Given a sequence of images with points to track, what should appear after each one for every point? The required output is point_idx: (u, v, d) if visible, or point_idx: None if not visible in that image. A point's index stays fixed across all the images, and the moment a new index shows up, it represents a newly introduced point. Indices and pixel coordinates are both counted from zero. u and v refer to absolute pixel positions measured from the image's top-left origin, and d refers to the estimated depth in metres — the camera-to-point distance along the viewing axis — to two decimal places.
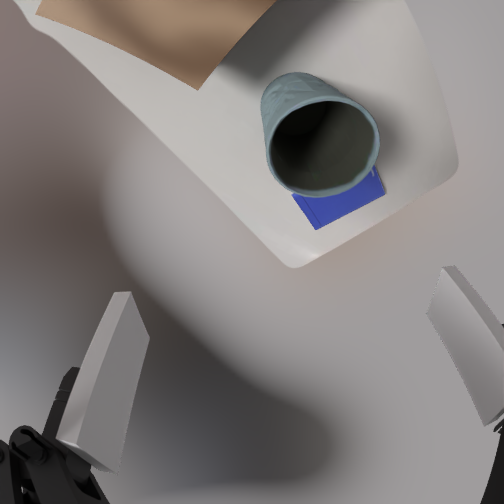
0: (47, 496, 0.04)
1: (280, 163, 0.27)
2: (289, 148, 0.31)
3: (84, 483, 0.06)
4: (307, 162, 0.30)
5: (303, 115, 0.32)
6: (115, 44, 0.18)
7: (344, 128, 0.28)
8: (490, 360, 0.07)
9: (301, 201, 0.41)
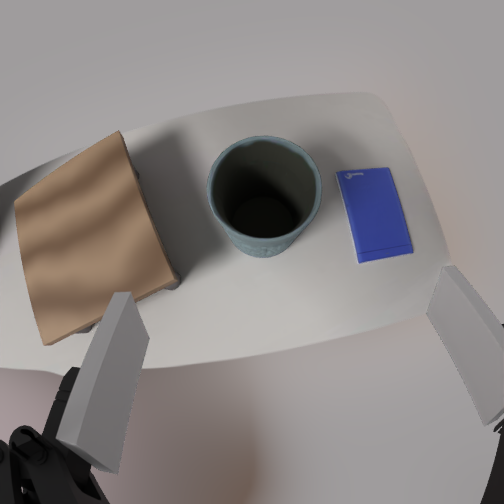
0: (47, 496, 0.04)
1: None
2: None
3: (84, 483, 0.06)
4: None
5: (274, 221, 0.36)
6: (102, 313, 0.27)
7: (281, 178, 0.32)
8: (490, 360, 0.07)
9: (370, 255, 0.35)
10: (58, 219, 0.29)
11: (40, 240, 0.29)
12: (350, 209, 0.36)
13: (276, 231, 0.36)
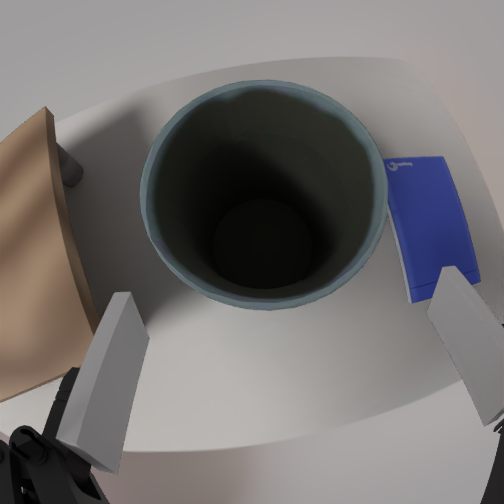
0: (47, 496, 0.04)
1: (289, 287, 0.13)
2: (310, 273, 0.18)
3: (84, 483, 0.06)
4: (334, 244, 0.16)
5: (281, 238, 0.22)
6: (13, 392, 0.13)
7: (294, 166, 0.18)
8: (490, 360, 0.07)
9: (428, 290, 0.21)
10: None
11: None
12: (399, 218, 0.22)
13: (285, 255, 0.22)
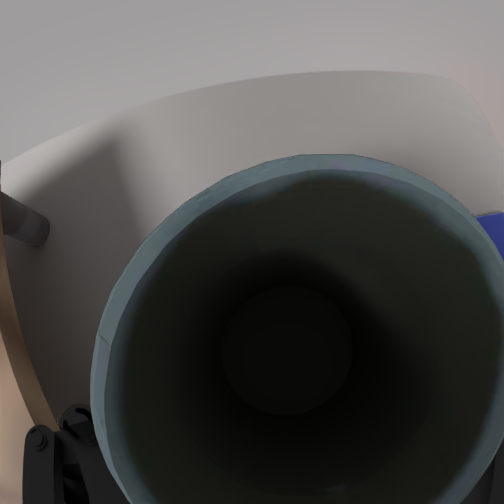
0: (94, 479, 0.05)
1: (345, 502, 0.06)
2: (357, 413, 0.11)
3: None
4: (400, 399, 0.09)
5: (313, 342, 0.16)
6: None
7: (351, 272, 0.11)
8: None
9: None
10: None
11: None
12: None
13: (317, 365, 0.16)
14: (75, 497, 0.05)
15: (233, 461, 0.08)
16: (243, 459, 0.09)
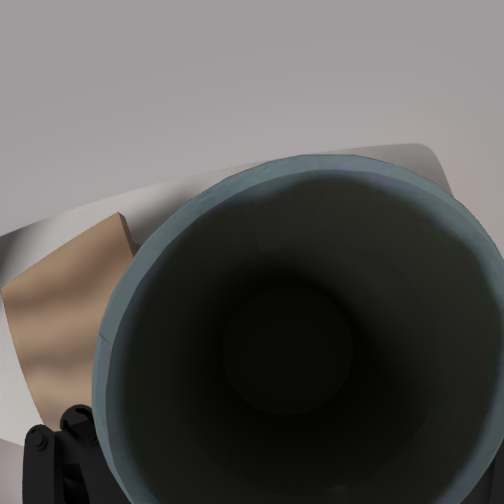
0: (95, 479, 0.05)
1: (346, 502, 0.06)
2: (357, 413, 0.11)
3: None
4: (401, 398, 0.09)
5: (313, 342, 0.16)
6: None
7: (352, 272, 0.11)
8: None
9: None
10: (56, 329, 0.23)
11: (38, 349, 0.23)
12: None
13: (318, 365, 0.16)
14: (75, 497, 0.05)
15: (234, 461, 0.08)
16: (244, 459, 0.09)
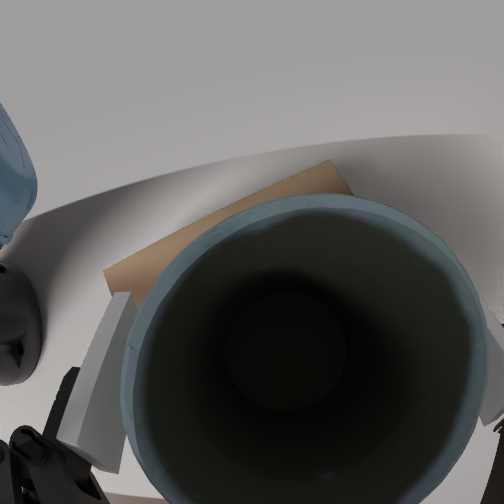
0: (47, 496, 0.04)
1: (334, 487, 0.07)
2: (348, 409, 0.13)
3: (84, 483, 0.06)
4: (386, 396, 0.11)
5: (309, 343, 0.17)
6: None
7: (342, 282, 0.12)
8: (490, 359, 0.07)
9: None
10: None
11: None
12: None
13: (313, 364, 0.17)
14: None
15: (236, 450, 0.10)
16: (245, 449, 0.10)
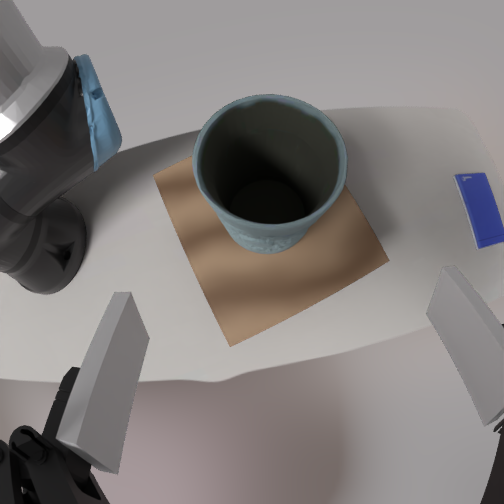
0: (47, 496, 0.04)
1: None
2: None
3: (84, 483, 0.06)
4: (317, 205, 0.23)
5: (281, 208, 0.29)
6: (318, 299, 0.28)
7: (290, 153, 0.25)
8: (490, 359, 0.07)
9: (484, 242, 0.35)
10: None
11: (214, 221, 0.30)
12: (469, 206, 0.37)
13: (284, 221, 0.29)
14: None
15: None
16: None
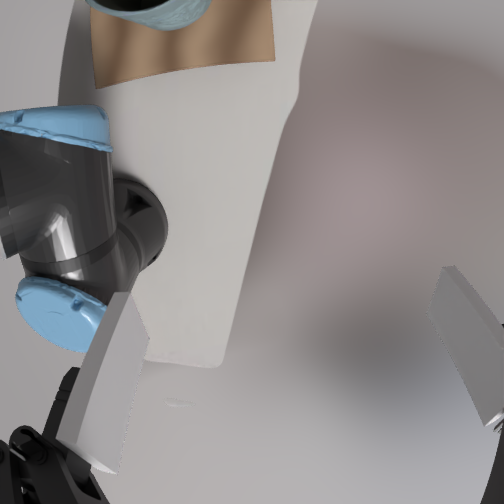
0: (47, 496, 0.04)
1: None
2: None
3: (84, 483, 0.06)
4: None
5: None
6: None
7: None
8: (490, 360, 0.07)
9: None
10: None
11: (161, 39, 0.24)
12: None
13: None
14: None
15: None
16: None
